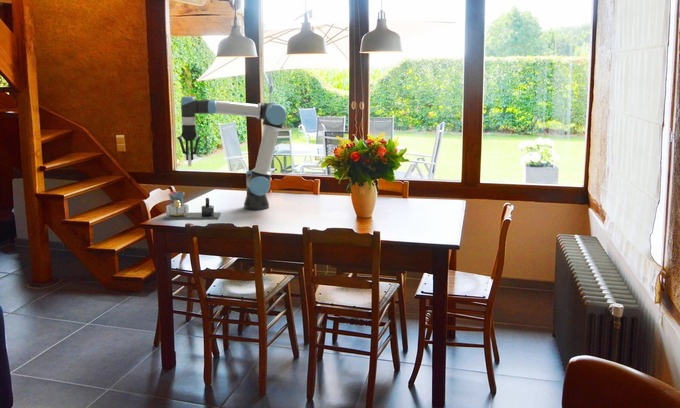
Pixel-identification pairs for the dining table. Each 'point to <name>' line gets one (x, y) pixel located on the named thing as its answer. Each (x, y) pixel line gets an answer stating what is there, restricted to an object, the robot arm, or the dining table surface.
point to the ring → (177, 209)
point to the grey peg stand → (206, 213)
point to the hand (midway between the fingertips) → (190, 165)
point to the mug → (176, 196)
